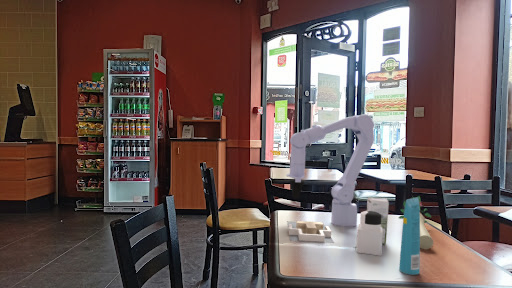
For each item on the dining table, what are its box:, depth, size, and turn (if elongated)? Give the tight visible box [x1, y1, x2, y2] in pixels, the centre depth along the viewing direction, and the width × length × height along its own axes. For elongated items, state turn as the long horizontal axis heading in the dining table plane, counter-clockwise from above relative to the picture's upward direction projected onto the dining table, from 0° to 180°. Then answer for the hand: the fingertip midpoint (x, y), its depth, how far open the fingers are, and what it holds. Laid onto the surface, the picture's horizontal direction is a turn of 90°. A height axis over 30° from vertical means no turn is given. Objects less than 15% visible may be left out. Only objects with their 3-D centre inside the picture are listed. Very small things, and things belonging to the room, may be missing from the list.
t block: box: [295, 220, 324, 234], centre depth 122 cm, size 9×9×4 cm
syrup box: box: [366, 196, 390, 245], centre depth 121 cm, size 6×6×14 cm
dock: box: [287, 224, 332, 243], centre depth 122 cm, size 14×13×2 cm
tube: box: [398, 196, 421, 276], centre depth 94 cm, size 7×5×19 cm, turn 140°
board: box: [286, 221, 335, 245], centre depth 128 cm, size 14×26×1 cm, turn 177°
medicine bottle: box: [355, 210, 383, 257], centre depth 110 cm, size 7×7×12 cm
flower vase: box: [398, 195, 434, 250], centre depth 131 cm, size 12×12×35 cm
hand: (295, 198), depth 140 cm, fingers closed
